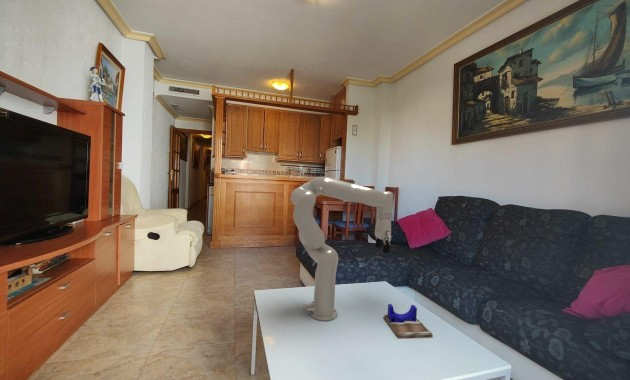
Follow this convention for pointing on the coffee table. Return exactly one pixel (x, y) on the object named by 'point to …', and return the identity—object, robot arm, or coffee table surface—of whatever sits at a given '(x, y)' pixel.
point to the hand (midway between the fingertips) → (382, 249)
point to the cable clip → (402, 315)
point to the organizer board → (408, 329)
